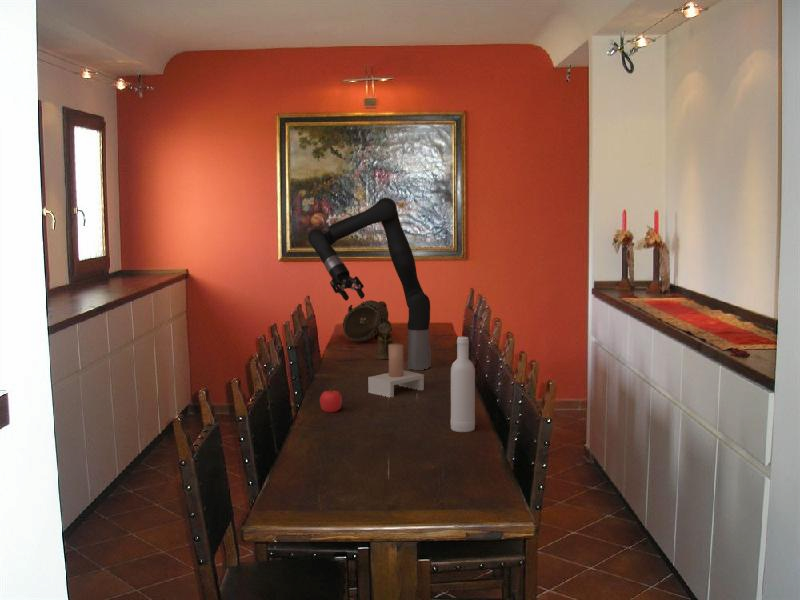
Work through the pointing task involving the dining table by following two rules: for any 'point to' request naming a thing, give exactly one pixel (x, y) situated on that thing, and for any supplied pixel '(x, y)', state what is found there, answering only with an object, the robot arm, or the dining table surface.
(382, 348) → the brown carved figurine
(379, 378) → the white channel block
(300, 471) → the dining table surface
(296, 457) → the dining table surface
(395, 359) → the tan rounded-top cylinder
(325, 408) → the apple
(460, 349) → the bottle
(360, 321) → the basket
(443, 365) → the dining table surface
